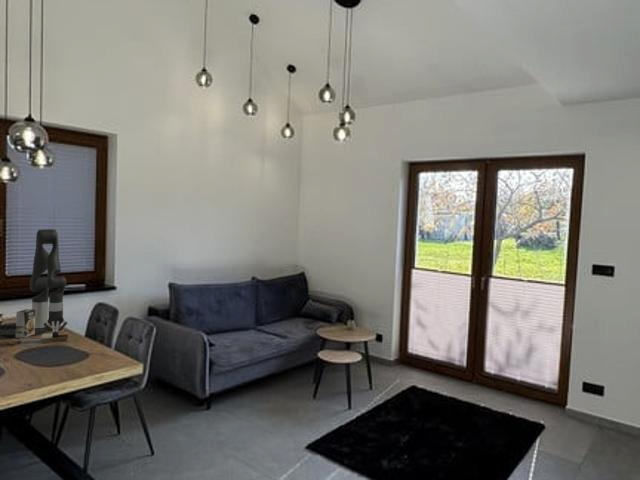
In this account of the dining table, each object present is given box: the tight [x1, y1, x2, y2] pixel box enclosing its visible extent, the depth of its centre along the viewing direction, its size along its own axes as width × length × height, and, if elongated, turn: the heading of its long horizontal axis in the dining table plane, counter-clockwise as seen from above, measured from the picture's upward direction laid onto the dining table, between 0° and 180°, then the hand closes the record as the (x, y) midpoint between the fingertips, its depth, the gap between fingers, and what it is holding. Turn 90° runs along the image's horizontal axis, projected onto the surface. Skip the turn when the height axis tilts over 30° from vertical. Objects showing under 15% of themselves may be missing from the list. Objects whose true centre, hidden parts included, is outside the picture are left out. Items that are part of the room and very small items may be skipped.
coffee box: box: [15, 308, 36, 339], centre depth 282 cm, size 9×6×16 cm
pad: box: [19, 338, 43, 346], centre depth 269 cm, size 12×11×1 cm
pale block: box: [41, 332, 53, 339], centre depth 272 cm, size 5×5×4 cm
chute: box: [41, 333, 69, 345], centre depth 274 cm, size 12×13×3 cm
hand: (55, 337), depth 274 cm, fingers closed
